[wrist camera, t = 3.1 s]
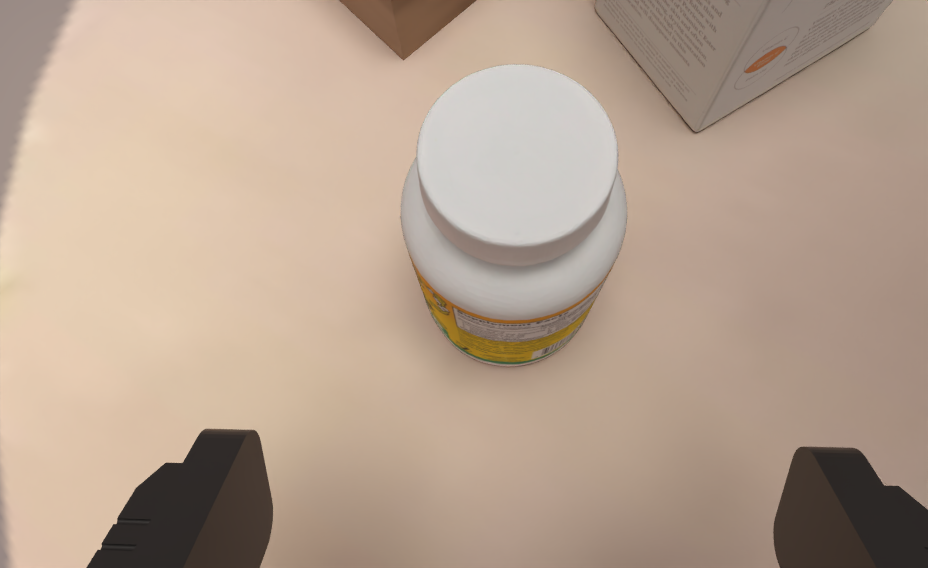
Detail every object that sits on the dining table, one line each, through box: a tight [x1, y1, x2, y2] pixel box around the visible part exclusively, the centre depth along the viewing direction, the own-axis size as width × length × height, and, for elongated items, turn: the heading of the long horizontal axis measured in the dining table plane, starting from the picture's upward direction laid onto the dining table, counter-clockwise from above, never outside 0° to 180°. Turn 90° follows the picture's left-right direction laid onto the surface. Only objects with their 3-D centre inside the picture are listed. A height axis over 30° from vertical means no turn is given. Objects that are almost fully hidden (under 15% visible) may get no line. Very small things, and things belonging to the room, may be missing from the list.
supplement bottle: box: [401, 64, 627, 366], centre depth 18 cm, size 5×5×10 cm
